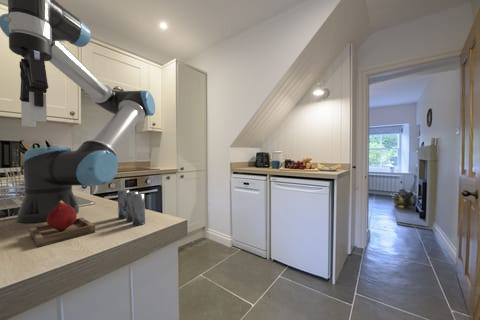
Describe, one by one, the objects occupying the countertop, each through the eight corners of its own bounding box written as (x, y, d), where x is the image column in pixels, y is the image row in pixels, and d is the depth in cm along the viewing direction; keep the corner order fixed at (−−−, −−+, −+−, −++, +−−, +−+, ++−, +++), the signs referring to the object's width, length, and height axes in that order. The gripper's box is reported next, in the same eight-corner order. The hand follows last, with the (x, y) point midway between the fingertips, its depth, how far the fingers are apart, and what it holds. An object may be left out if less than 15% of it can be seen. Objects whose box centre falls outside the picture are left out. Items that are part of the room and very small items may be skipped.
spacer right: (130, 224, 60) (129, 194, 60) (141, 221, 63) (141, 192, 63) (135, 226, 58) (135, 195, 58) (147, 223, 61) (146, 194, 61)
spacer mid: (124, 220, 64) (124, 192, 64) (135, 217, 67) (135, 190, 66) (129, 222, 62) (129, 193, 62) (140, 219, 64) (140, 192, 64)
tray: (29, 235, 52) (29, 227, 52) (82, 223, 61) (82, 217, 60) (37, 247, 45) (37, 238, 45) (95, 232, 54) (95, 225, 54)
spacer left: (116, 217, 67) (116, 190, 66) (127, 215, 69) (127, 189, 69) (120, 219, 64) (120, 192, 64) (131, 217, 67) (131, 190, 67)
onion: (82, 227, 55) (81, 198, 55) (61, 235, 50) (61, 203, 50) (63, 226, 56) (62, 198, 56) (40, 234, 50) (39, 203, 50)
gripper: (4, 49, 55) (6, 126, 56) (14, 9, 40) (17, 115, 40) (42, 59, 61) (43, 129, 61) (63, 28, 46) (65, 120, 46)
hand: (33, 124), depth 51 cm, fingers open, 13 cm apart
